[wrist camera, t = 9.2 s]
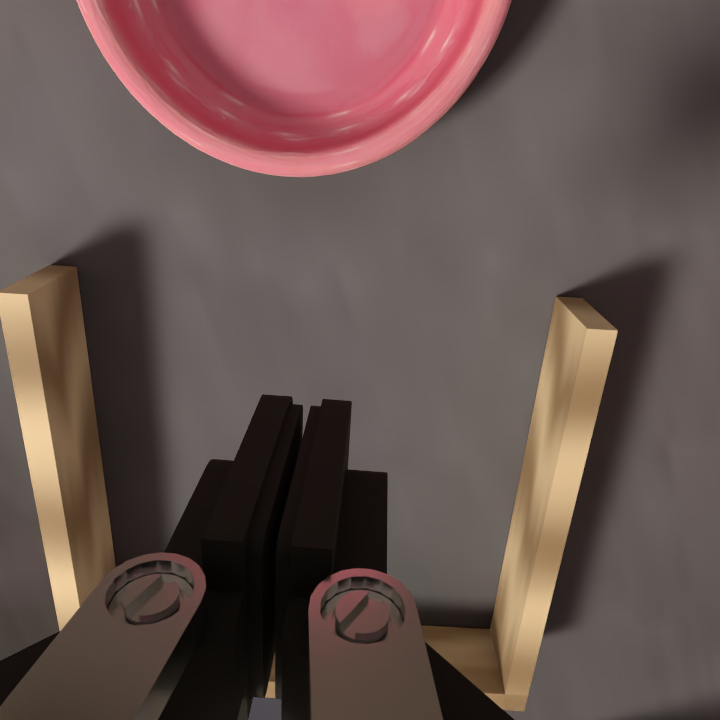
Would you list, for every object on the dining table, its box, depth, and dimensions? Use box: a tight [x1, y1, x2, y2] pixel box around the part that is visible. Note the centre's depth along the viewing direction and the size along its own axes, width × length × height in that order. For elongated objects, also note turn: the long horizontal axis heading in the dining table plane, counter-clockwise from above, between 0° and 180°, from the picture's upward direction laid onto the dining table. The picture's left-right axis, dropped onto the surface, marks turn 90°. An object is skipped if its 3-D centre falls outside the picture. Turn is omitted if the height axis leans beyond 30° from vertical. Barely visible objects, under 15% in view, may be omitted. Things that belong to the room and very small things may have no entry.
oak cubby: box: [0, 265, 618, 711], centre depth 24 cm, size 18×20×4 cm
